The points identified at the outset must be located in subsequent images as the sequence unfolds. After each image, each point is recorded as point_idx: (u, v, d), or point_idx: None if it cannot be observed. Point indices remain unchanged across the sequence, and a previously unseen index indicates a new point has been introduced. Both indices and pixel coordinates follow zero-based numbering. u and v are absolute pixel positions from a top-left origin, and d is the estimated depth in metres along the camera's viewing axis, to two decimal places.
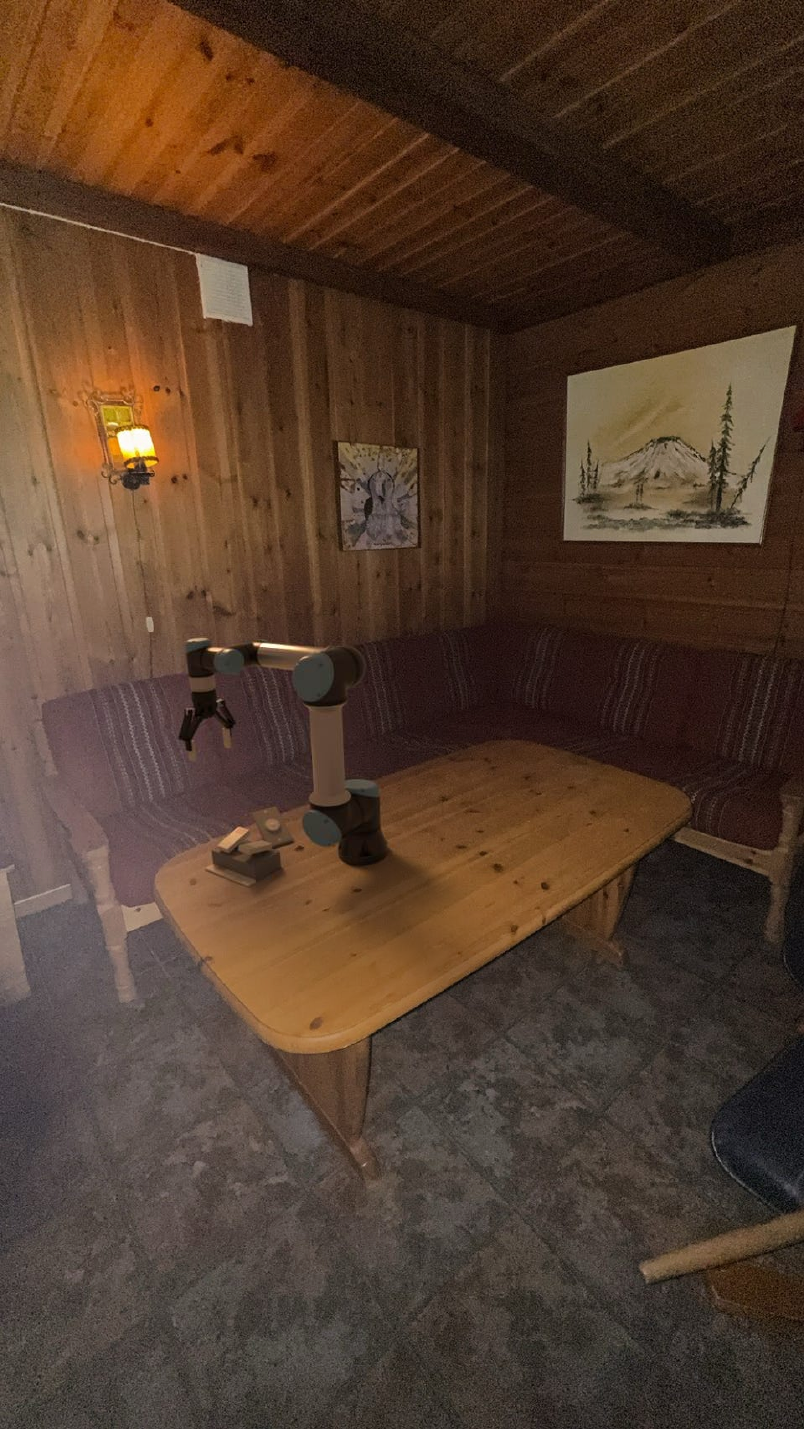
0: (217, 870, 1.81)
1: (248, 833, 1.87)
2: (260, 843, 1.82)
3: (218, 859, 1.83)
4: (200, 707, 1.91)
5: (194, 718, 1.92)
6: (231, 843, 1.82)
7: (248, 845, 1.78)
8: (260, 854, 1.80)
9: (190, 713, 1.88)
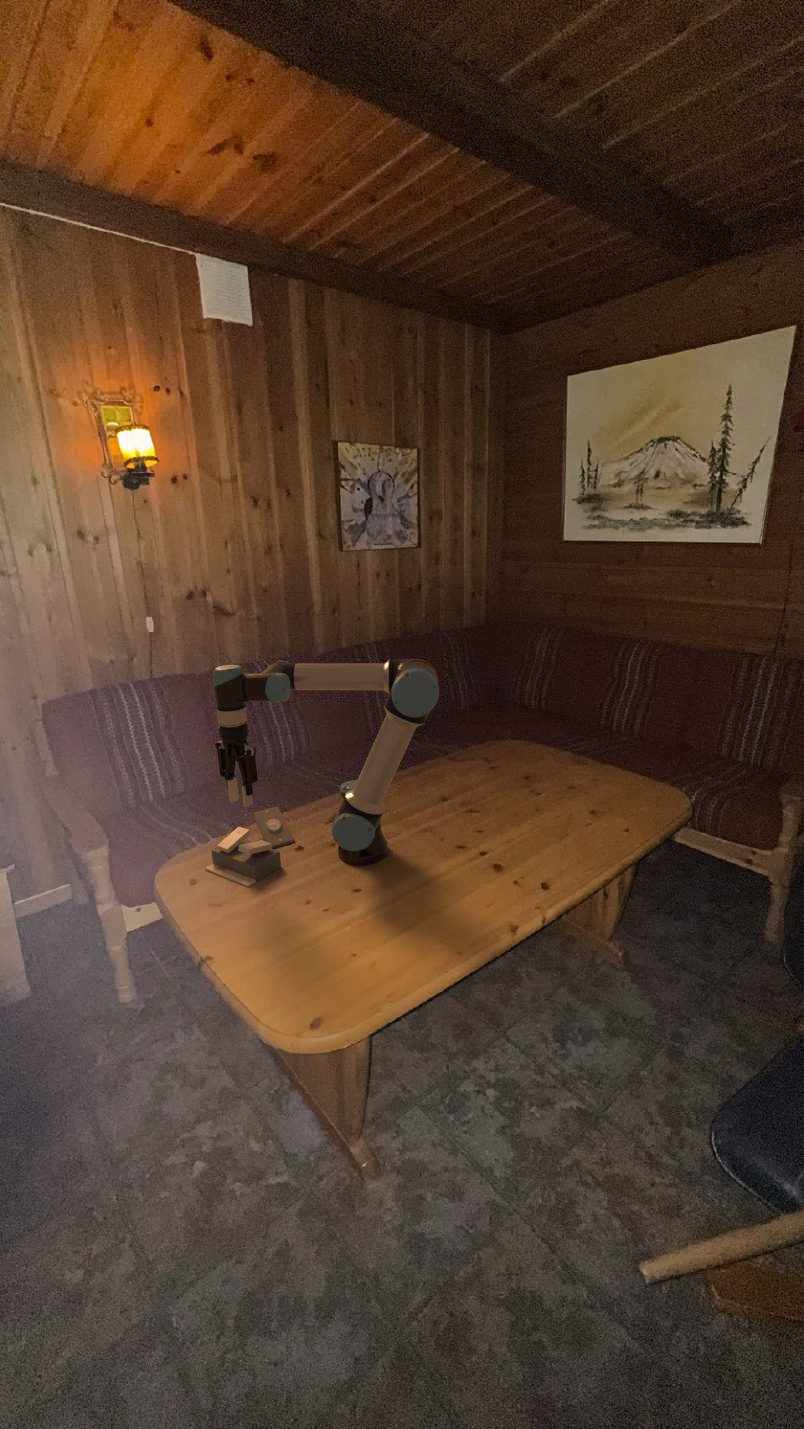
0: (217, 870, 1.81)
1: (248, 833, 1.87)
2: (260, 843, 1.82)
3: (218, 859, 1.83)
4: (224, 740, 1.69)
5: None
6: (231, 843, 1.82)
7: (248, 845, 1.78)
8: (260, 854, 1.80)
9: (217, 747, 1.71)
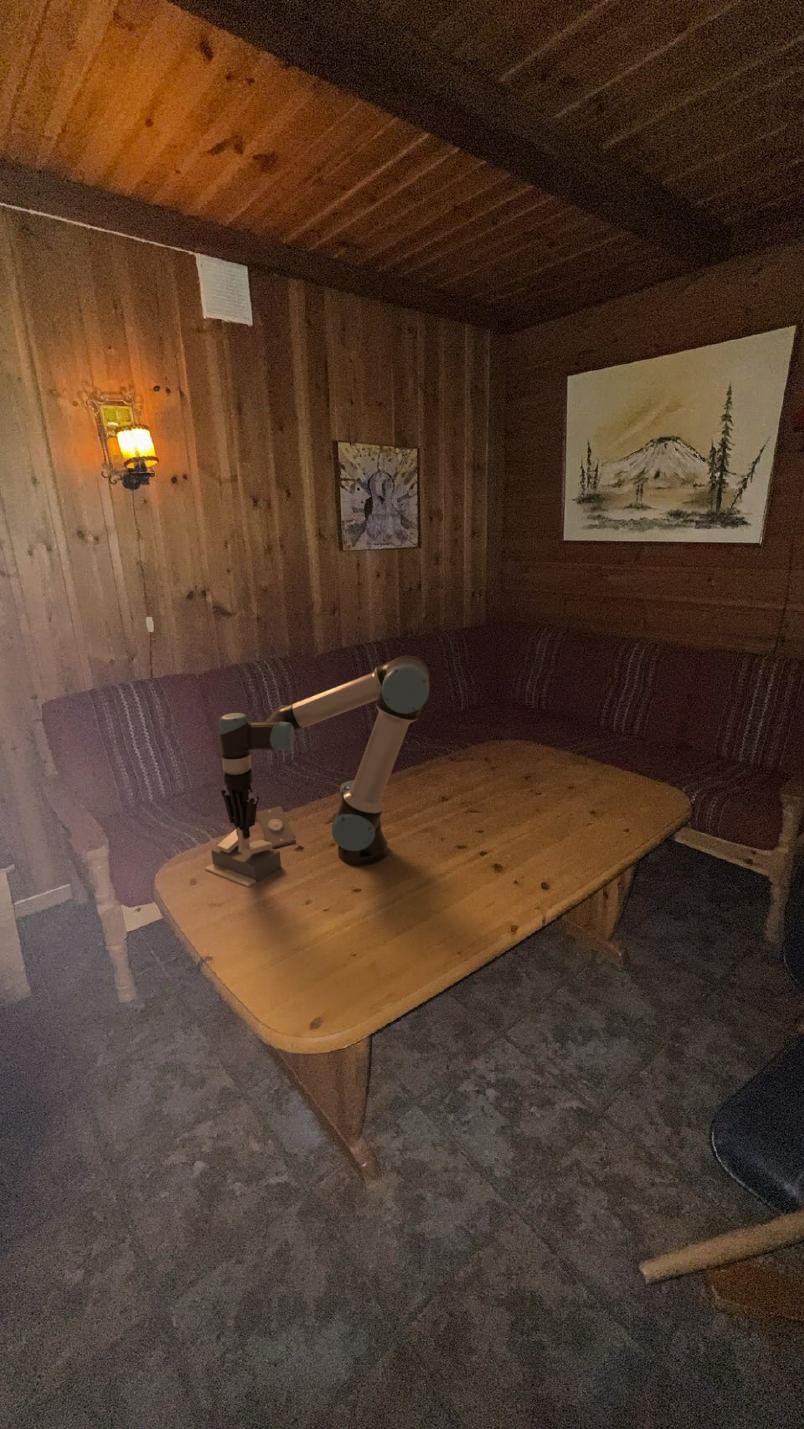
0: (217, 870, 1.81)
1: None
2: (260, 843, 1.82)
3: (218, 859, 1.83)
4: (228, 785, 1.72)
5: None
6: (231, 843, 1.82)
7: None
8: (260, 854, 1.80)
9: (223, 794, 1.74)
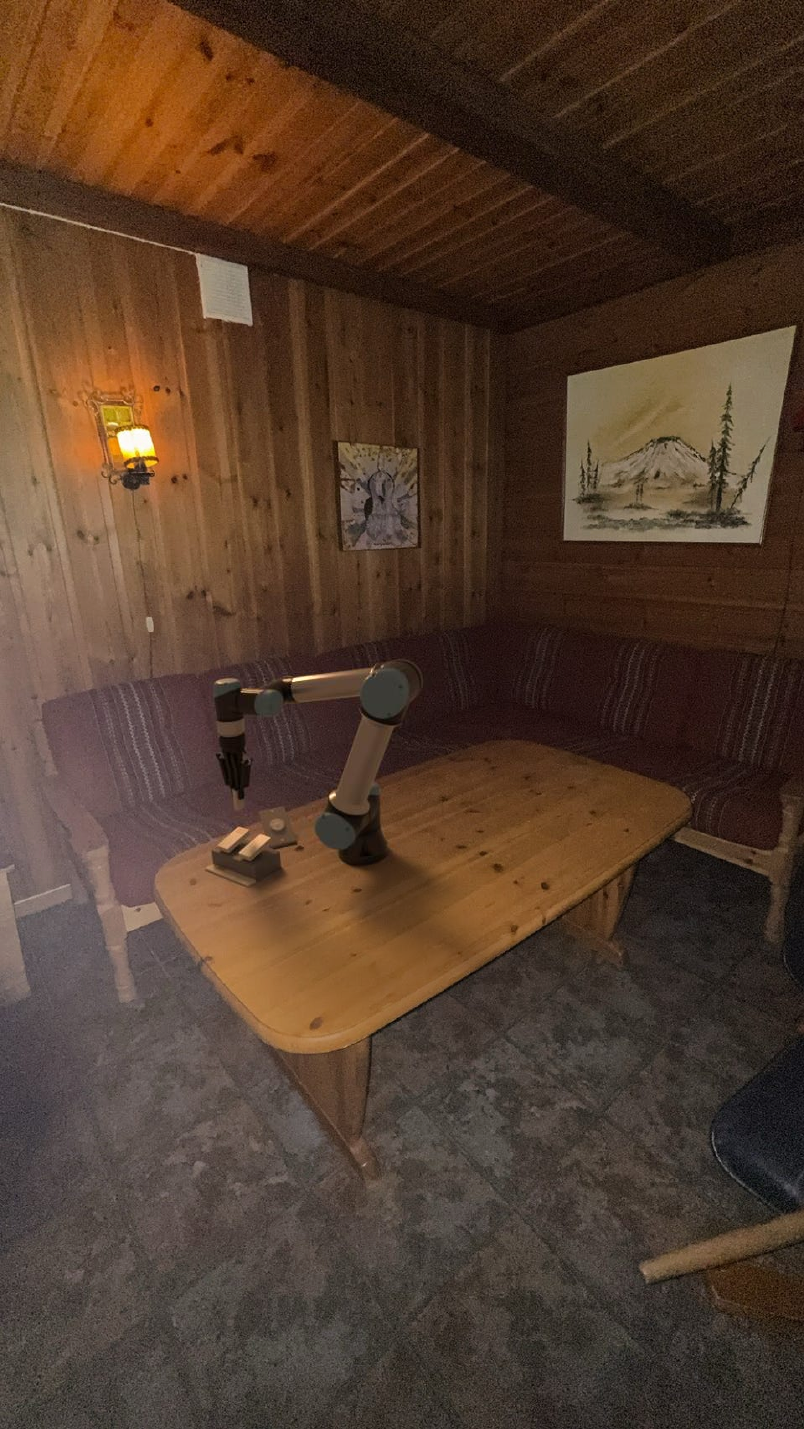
0: (217, 870, 1.81)
1: (248, 833, 1.87)
2: (259, 841, 1.81)
3: (218, 859, 1.83)
4: (222, 748, 1.80)
5: None
6: (231, 843, 1.82)
7: (247, 849, 1.78)
8: (260, 854, 1.80)
9: (218, 757, 1.82)
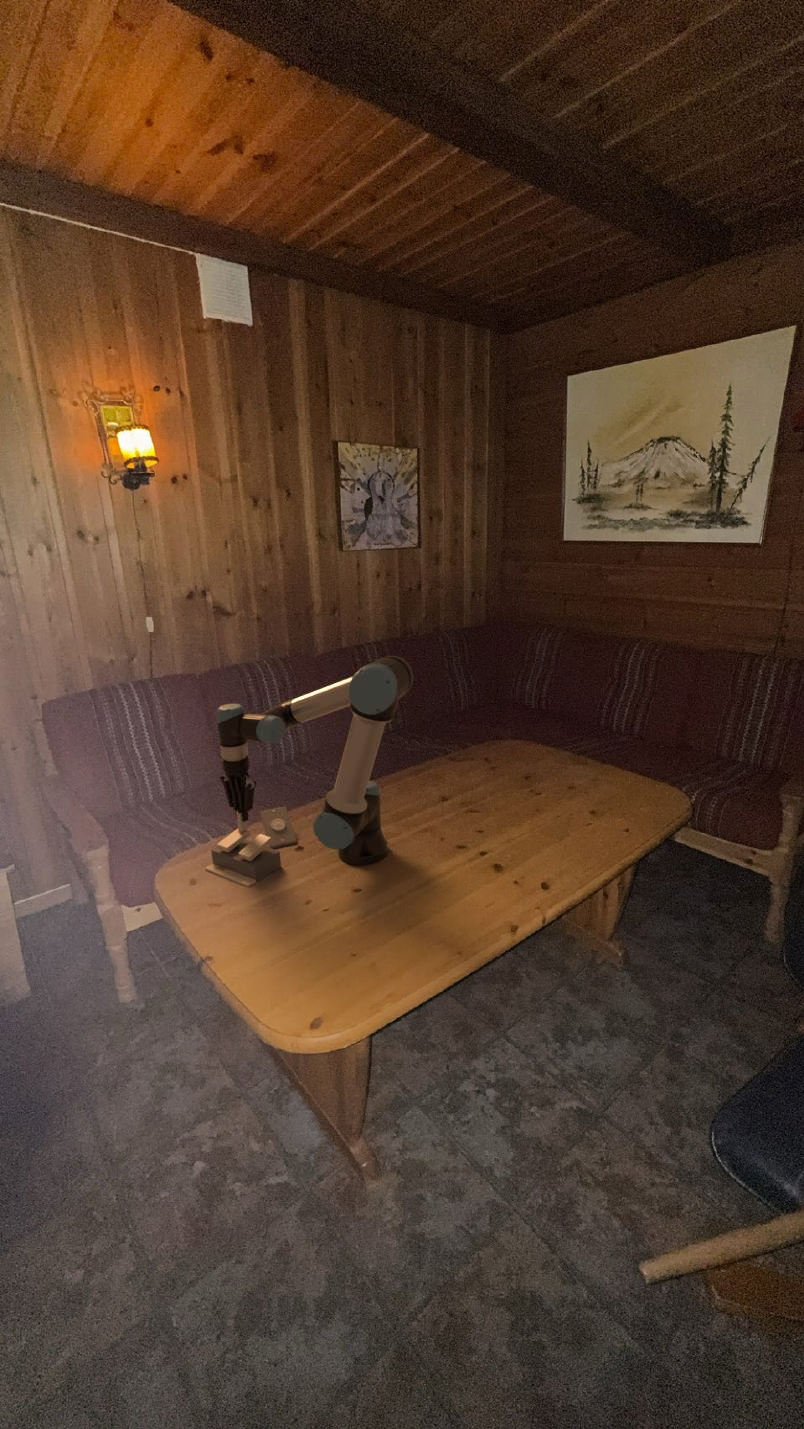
0: (217, 870, 1.81)
1: (248, 834, 1.87)
2: (259, 841, 1.81)
3: (218, 859, 1.83)
4: None
5: None
6: (231, 842, 1.82)
7: (247, 849, 1.78)
8: (260, 854, 1.80)
9: (222, 780, 1.85)
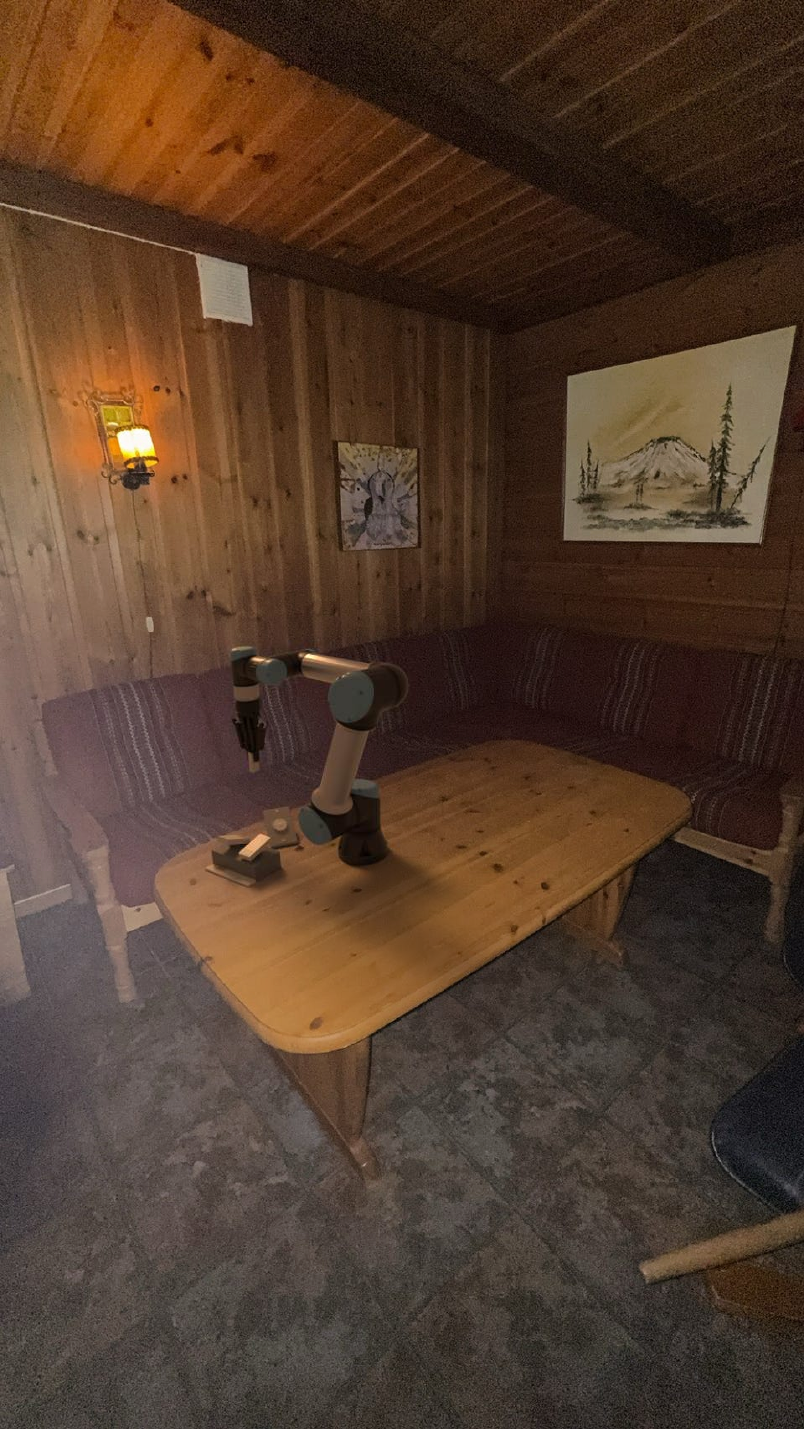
0: (217, 870, 1.81)
1: (248, 841, 1.87)
2: (259, 841, 1.81)
3: (218, 859, 1.83)
4: (238, 713, 1.90)
5: None
6: (232, 838, 1.83)
7: (247, 849, 1.78)
8: (260, 854, 1.80)
9: (234, 722, 1.92)
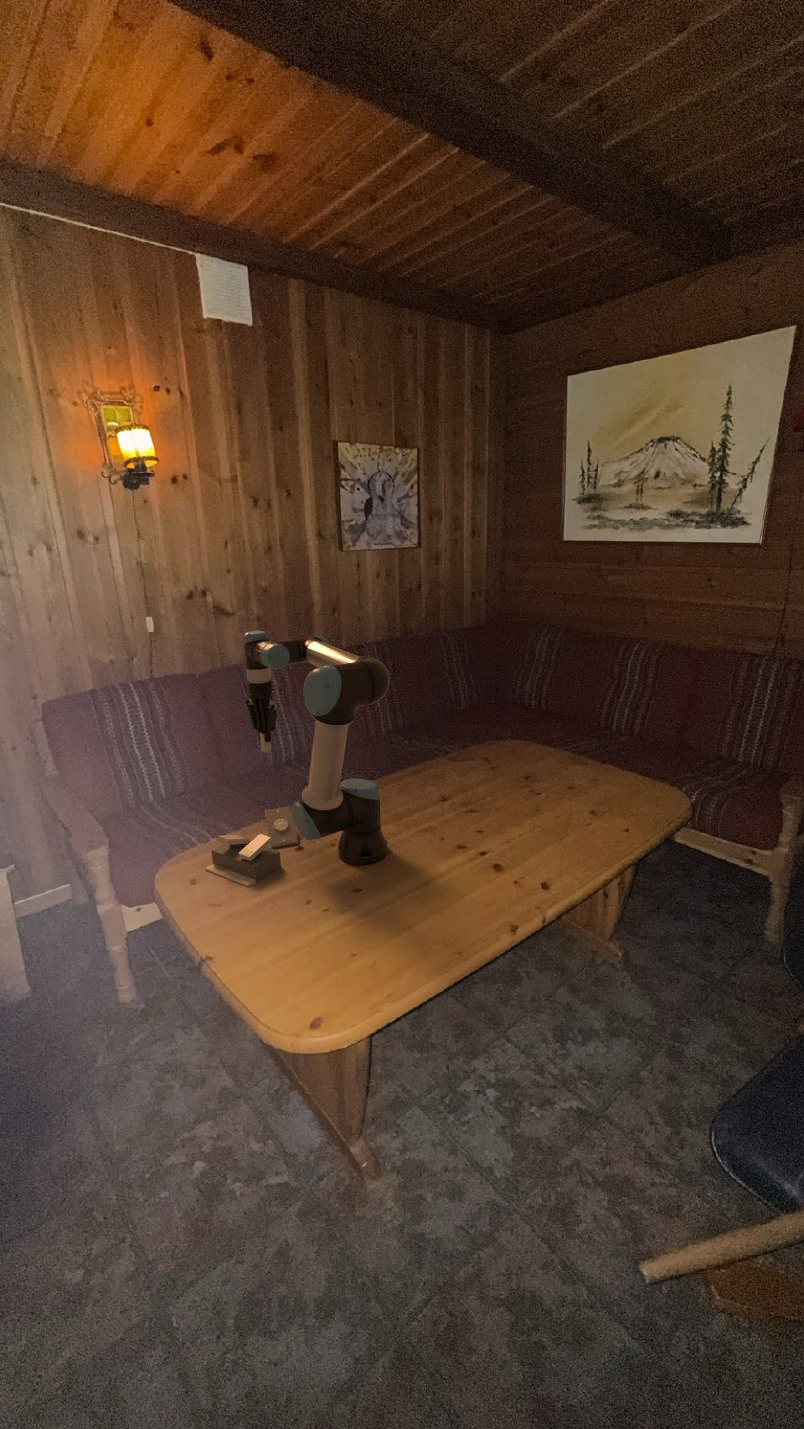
0: (217, 870, 1.81)
1: (248, 841, 1.87)
2: (259, 841, 1.81)
3: (218, 859, 1.83)
4: (251, 695, 1.99)
5: None
6: (232, 838, 1.83)
7: (247, 849, 1.78)
8: (260, 854, 1.80)
9: (247, 704, 2.01)
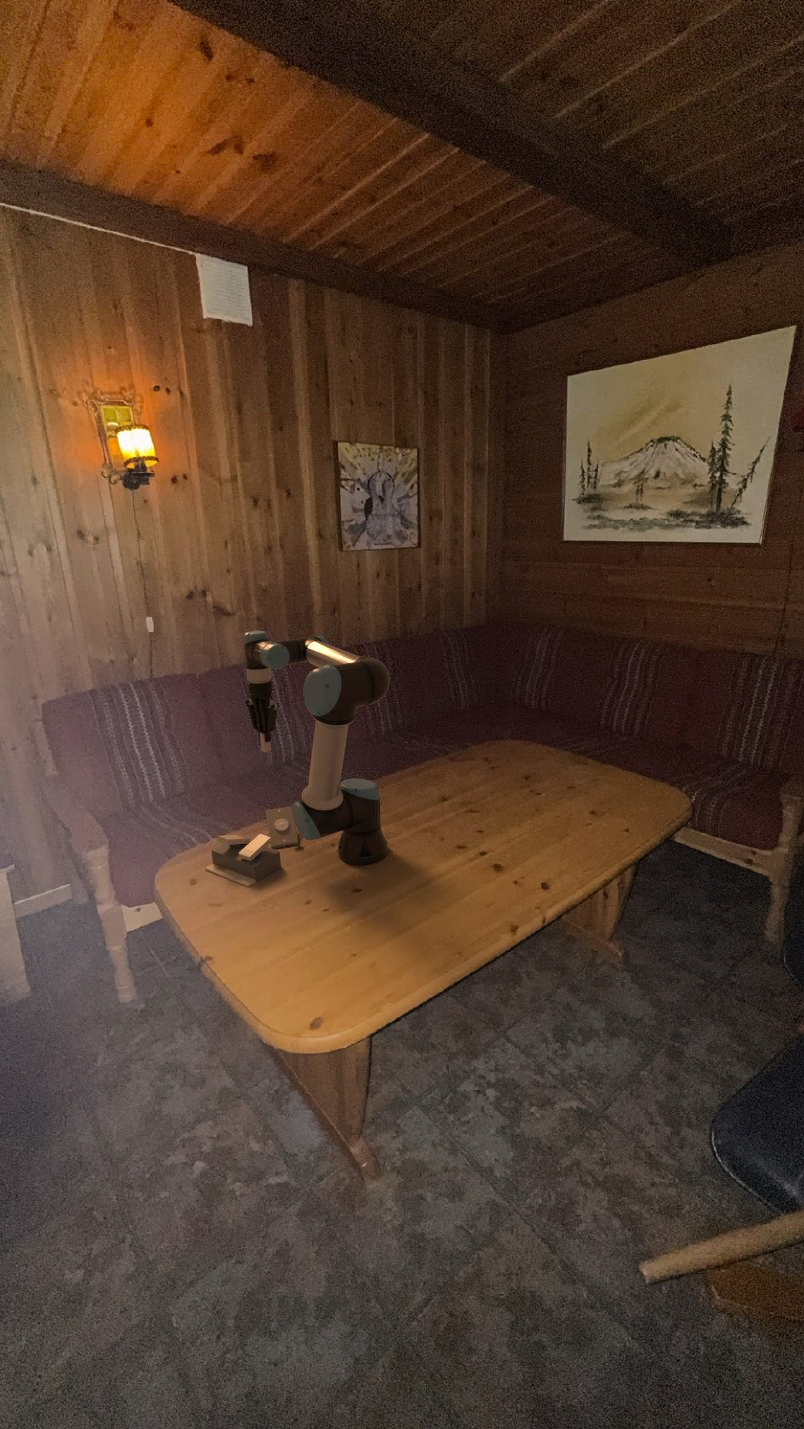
0: (217, 870, 1.81)
1: (248, 841, 1.87)
2: (259, 841, 1.81)
3: (218, 859, 1.83)
4: (251, 695, 1.99)
5: None
6: (232, 838, 1.83)
7: (247, 849, 1.78)
8: (260, 854, 1.80)
9: (247, 704, 2.01)
